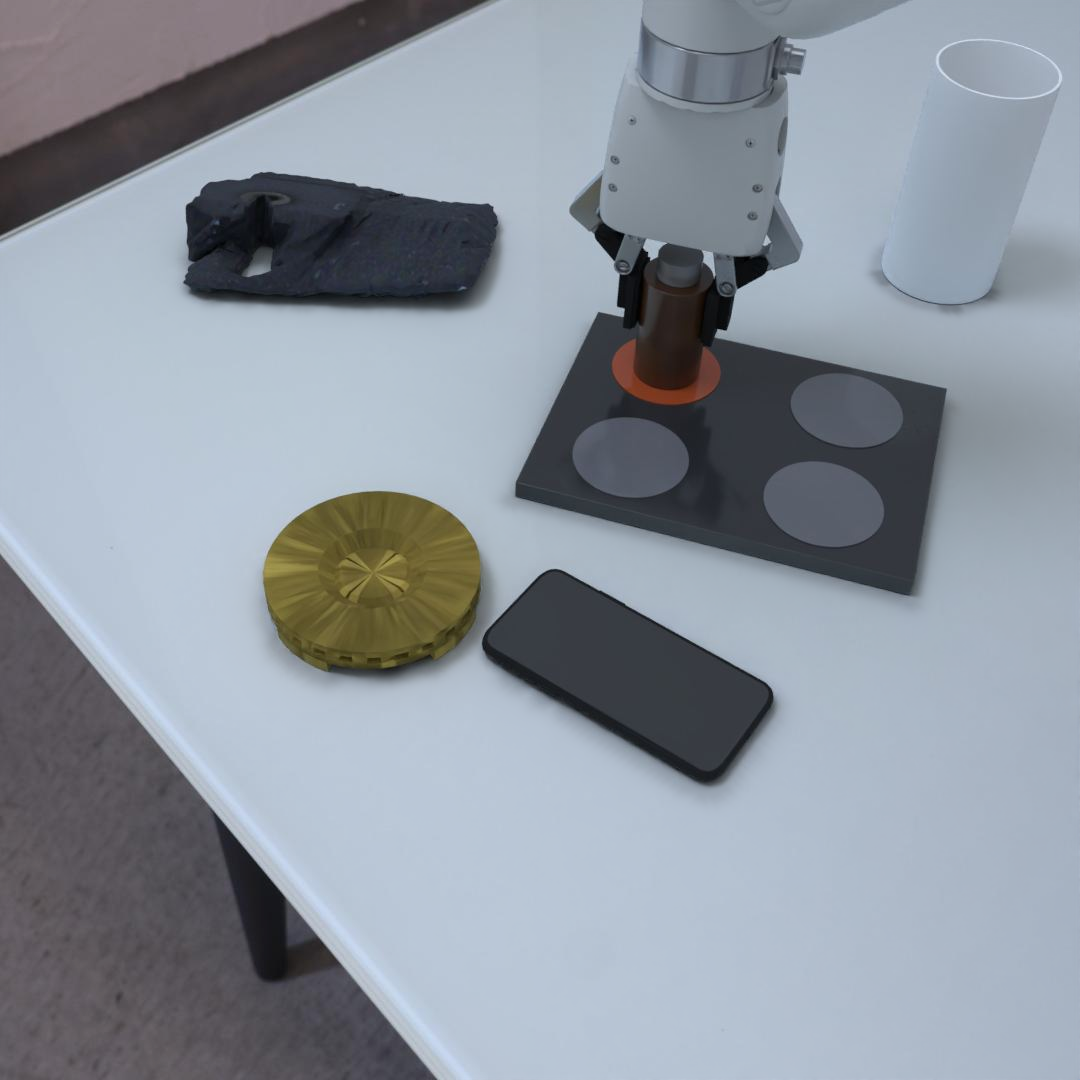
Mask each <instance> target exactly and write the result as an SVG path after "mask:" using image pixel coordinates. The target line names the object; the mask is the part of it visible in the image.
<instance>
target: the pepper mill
mask: <svg viewBox="0 0 1080 1080" xmlns="http://www.w3.org/2000/svg"><path fill="white" fill-rule="evenodd" d="M704 260H705V255H704V252H703V250H698V249H694V248H689V247H684V246H679V245H674V244H669V243H664V244H663V245H662V246H660V247H659V249H658V252H657V257H654V258H653V259H650V262H648V263H647V264H646V266H645V267H644V270H643V278H642V287H641V297H640V306H639V316H638V325H637V334H636V344H635V353H634V363H633V369H634V372H635V374H636V376H637V377H638V378H639V379H640V380H641V381H642V382H643V383H645V384H647V385H649V386H651V387H654V388H657V389H662V390H677V389H682V388H685V387H687V386H689V385H691V384H692V383H694V382H695V381H696V379H697V378H698V376H699V372H700V366H701V359H702V353H703V347H704V346H703V343H700V340H701V334H702V327H703V320H704V314H705V307H706V300H707V296H708V293H709V290H710V288H711V286H712V284H713V281H714V277H715V275H714V273H713V271H712V268H711V267H709V266H708V264H706V263H705V262H704Z"/></svg>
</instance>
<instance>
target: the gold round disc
mask: <svg viewBox="0 0 1080 1080" xmlns="http://www.w3.org/2000/svg"><path fill="white" fill-rule="evenodd" d="M481 563H482V562H481V555H480V552H479V548H478V545H477V542H476V540H475V538H474V537H473V535H472V533H471V532H470V531H469V529H468V528H467V526H466V525H465V524H464V523H463V522H462V521H461V520H460V519H459V517H457V516H455V514H453V513H451V512H450V511H449V510H447V509H446V508H444V507H443V506H441V505H440V504H438V503H436V502H433V501H431V500H428V499H427V498H423V497H420V496H417V495H413V494H409V493H403V492H396V491H389V490H388V491H387V490H386V491H385V490H371V491H368V490H367V491H359V492H352V493H348V494H343V495H339V496H336V497H333V498H330V499H326V500H324V501H322V502H320V503H317V504H315V505H314V506H311V507H309V508H308V509H306V510H304V511H303V512H301V513H300V514H299V515H297V516H296V517H294V518H293V519H292V520H291V521H290V522H288V523H287V525H285V527H283V529H282V530H281V531H280V532H279V533H278V534H277V536H276V537H275V539H274V540H273V541H272V543H271V546H270V547H269V549H268V551H267V555H266V557H265V560H264V565H263V572H262V582H263V583H262V585H263V588H264V595H265V599H266V605H267V610H268V613H269V615H270V618H271V620H272V623H274V626H275V627H276V629H277V632H278V633H277V634H278V638H279V639H280V641H281V642H282V643H283V644H284V646H285V647H286V648H287V649H288V650H289V651H291V653H293V654H294V655H295V656H297V657H298V658H299V659H300V660H302V661H304V662H305V663H307V664H309V665H311V666H312V667H314V668H317V669H320V670H321V671H322V670H323V671H325V672H329V671H330V669H331V667H332V665H333V666H337V667H342V668H348V669H355V670H356V669H359V670H360V669H361V670H373V669H375V670H376V669H387V668H393V667H399V666H402V665H406V664H409V663H412V662H415V661H418V660H420V659H423V658H425V657H427V656H431V658H432V659H433V661H437V660H439V659H440V658H442V657H443V656H444V655H446V654H448V652H450V651H451V650H452V649H454V647H456V646H457V645H458V644H459V642H461V641H462V640H463V638H464V637H465V636H466V635H467V633H469V631H470V629H471V627H472V626H473V624H474V622H475V620H476V614H477V613H476V611H477V610H476V609H477V606H478V604H479V600H480V595H481V589H482V582H481V581H482V571H481V569H482V566H481V565H482V564H481Z"/></svg>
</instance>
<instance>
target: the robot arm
mask: <svg viewBox="0 0 1080 1080" xmlns="http://www.w3.org/2000/svg"><path fill="white" fill-rule="evenodd" d="M911 1H912V0H642V6H641V17H640V25H639V38H638V47H637V48H638V49H637V52H635V53H633V54H632V55H631V56H630V57H629V59H628V61H627V65H626V67H625V69H624V70H625V71H624V73H623V76H622V79H621V82H620V86H619V89H618V93H617V95H616V96H617V97H616V100H615V105H614V108H613V109H614V110H613V113H612V118H611V124H610V129H609V134H608V139H607V146H606V151H605V156H604V157H605V158H604V163H603V169H602V170H600V172H598V174H597V175H595V177H594V178H592V180H591V181H589V182H588V183H587V185H585V186H584V188H583V189H581V191H580V192H579V193H578V194H576V196H575V197H574V199H573V201H572V203H571V204H570V206H569V207H568V212H569V215H570V216H571V217H572V218H573V219H574V220H575V221H577V222H578V223H579V224H580V225H581V226H582V227H583V228H585V230H587V231H588V232H589V233H590V232H591V233H592V234H593V235H594V239H595V241H596V242H597V243H598V244H599V245H600V247H601V248H602V249H603V250H604V251H605V253H606V254H607V255H608V256H609V257H610V258H611V259H612V261H613V269H614V270H615V272H616V273H618V274H619V275H618V288H617V298H616V308H621V309H624V311H623V317H624V319H623V328H626V329H630V330H631V329H632V328H635V326H636V324H637V321H638V316H639V306H640V297H641V287H642V278H643V270H644V267H645V266H646V264H647V263H648V262H650V261H651V256H649V251H646V249H645V248H644V247H645V244H646V241H647V240H650V241H656V242H660V243H664V244H667V243H669V244H674V245H679V246H684V247H689V248H694V249H698V250H702V252H703V251H704V252H709V253H712V256H713V266H714V267H713V268H714V274H715V275H714V281H713V284H712V286H711V288H710V290H709V293H708V296H707V300H706V307H705V314H704V320H703V327H702V334H701V340H700V343H703V346H707V347H711V346H712V343H713V340H714V338H716V336H717V332H718V330H720V331H725V332H727V331H728V329H729V325H730V322H731V318H732V314H733V308H734V303H735V297H736V293H737V291H738V290H740V289H741V288H743V287H745V286H747V285H749V284H750V283H752V282H754V281H756V280H758V279H759V278H761V277H763V276H765V274H766V273H767V272H770V271H775V270H778V269H781V268H784V267H786V266H789V265H792V264H795V263H797V262H799V260H800V258H801V255H802V251H803V248H804V242H803V239H802V238H801V236H800V235H799V233H798V231H797V228H796V227H795V226H794V223H793V222H792V220H791V217H790V216H789V213H787V211H786V209H785V206H784V205H783V203H782V200H781V199H780V196H781V195H780V194H781V189H782V181H783V173H784V166H785V160H786V159H785V157H786V150H787V149H786V148H787V139H788V125H789V88H788V87H789V86H788V80H787V78H786V77H785V76H788V74H791V75H797V76H802V73H803V70H804V67H805V63H806V62H805V61H806V58H807V52H808V50H807V49H804V48H798V47H794V46H795V45H794V44H792V43H788V39H791V40H803V41H804V40H813V39H819V38H822V37H826V36H828V35H831V34H834V33H837V32H839V31H841V30H844V29H846V28H850V27H851V26H854V25H856V24H859V23H861V22H864V21H867V20H869V19H871V18H874V17H876V16H878V15H881V14H882V13H884V12H886V11H888V10H891V9H895V8H897V7H898V6H901V5H904V4H906V3H908V2H911ZM766 237H767V238H768V239H769V241H770V242H768V243H767V244H766V245H764V243H765V241H766Z"/></svg>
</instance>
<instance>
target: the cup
mask: <svg viewBox="0 0 1080 1080" xmlns="http://www.w3.org/2000/svg"><path fill="white" fill-rule="evenodd" d="M934 58H935V59H934V62H933V65H932V69H931V73H930V76H929V79H928V82H927V87H926V91H925V93H924V94H925V95H924V100H923V101H922V106H921V110H920V114H919V118H918V121H917V125H916V128H915V131H914V136H913V140H912V144H911V147H910V150H909V151H910V152H909V155H908V159H907V162H906V167H905V169H904V174H903V177H902V181H901V186H900V189H899V193H898V197H897V201H896V203H895V207H894V212H893V216H892V219H891V222H890V226H889V232H888V233H887V238H886V242H885V246H884V249H883V253H882V256H881V260H880V261H881V262H880V265H881V270H882V273H883V275H884V277H885V278H886V279H887V280H888V281H889V282H890V284H892V285H893V286H894V287H895V288H897V289H898V290H899V291H901V292H903V293H904V294H906V295H907V296H909V297H913V298H916V299H917V300H922V301H924V302H927V303H928V302H929V303H934V304H939V305H961V304H968V303H972V302H974V301H977V300H979V299H981V298H983V297H984V296H986V295H987V294H988V293H989V292H990V290H991V289H992V287H993V285H994V282H995V279H996V277H997V273H998V270H999V268H1000V264H1001V261H1002V259H1003V256H1004V252H1005V251H1006V248H1007V244H1008V242H1009V237H1010V235H1011V232H1012V230H1013V228H1014V227H1013V226H1014V224H1015V221H1016V217H1017V214H1018V212H1019V209H1020V206H1021V203H1022V200H1023V197H1024V194H1025V191H1026V189H1027V186H1028V183H1029V180H1030V177H1031V174H1032V171H1033V168H1034V166H1035V162H1036V159H1037V157H1038V154H1039V151H1040V148H1041V145H1042V143H1043V139H1044V136H1045V133H1046V130H1047V128H1048V124H1049V123H1050V119H1051V116H1052V113H1053V111H1054V108H1055V104H1056V101H1057V99H1058V96H1059V92H1060V90H1061V86H1062V82H1063V73H1062V71H1061V70H1060V68H1059V67H1058V65H1057V64H1056V63H1055V62H1054V61H1053V60H1052V59H1051V58H1049V57H1048V56H1046V55H1044V54H1043V53H1041V52H1039V51H1037V50H1035V49H1033V48H1030V47H1027V46H1025V45H1021V44H1019V43H1014V42H1011V41H1005V40H1000V39H993V38H992V39H989V38H969V39H963V40H958V41H955V42H951V43H949V44H947V45H945V46H943V47H942V48H941V49H940V50H939V51H938V52H937V54H936V56H935V57H934Z"/></svg>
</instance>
